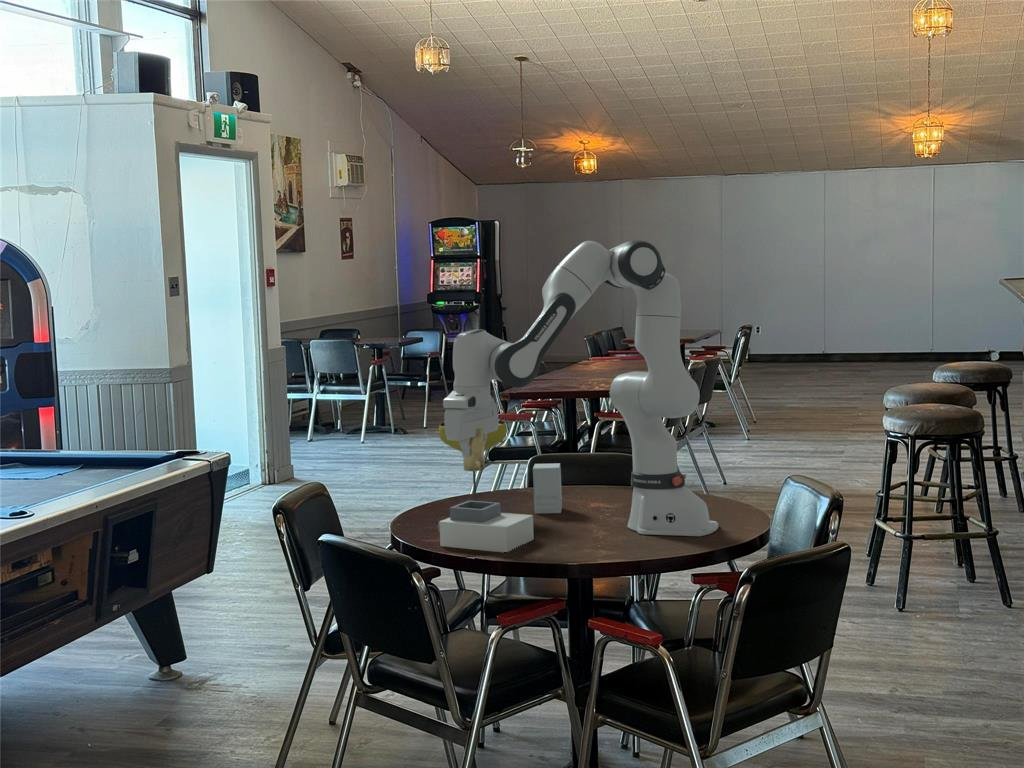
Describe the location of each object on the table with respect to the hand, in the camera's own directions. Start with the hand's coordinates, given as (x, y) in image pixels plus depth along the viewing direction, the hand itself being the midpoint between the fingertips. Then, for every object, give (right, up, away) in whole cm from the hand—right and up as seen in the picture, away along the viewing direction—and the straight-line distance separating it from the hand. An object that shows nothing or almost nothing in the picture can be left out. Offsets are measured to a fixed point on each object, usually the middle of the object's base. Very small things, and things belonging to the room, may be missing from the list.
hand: (473, 454), depth 268 cm
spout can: (0, -4, 0) cm, 4 cm away
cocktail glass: (-1, -19, +32) cm, 37 cm away
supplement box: (+19, -18, +35) cm, 44 cm away
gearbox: (+2, -21, +2) cm, 21 cm away
